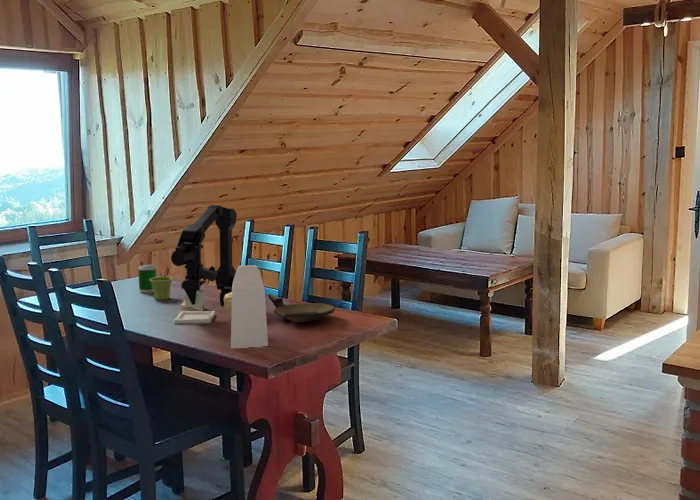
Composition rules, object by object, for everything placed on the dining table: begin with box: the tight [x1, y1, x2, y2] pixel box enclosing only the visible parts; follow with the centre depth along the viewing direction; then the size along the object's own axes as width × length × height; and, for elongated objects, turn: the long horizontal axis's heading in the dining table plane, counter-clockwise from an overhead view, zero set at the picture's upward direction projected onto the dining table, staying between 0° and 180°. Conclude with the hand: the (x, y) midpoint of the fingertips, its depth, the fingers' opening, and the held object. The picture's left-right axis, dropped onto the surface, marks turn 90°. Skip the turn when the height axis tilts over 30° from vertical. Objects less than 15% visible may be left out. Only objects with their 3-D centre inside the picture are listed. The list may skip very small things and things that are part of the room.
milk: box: [230, 264, 269, 350], centre depth 228 cm, size 12×12×26 cm
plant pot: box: [150, 276, 173, 301], centre depth 294 cm, size 9×9×9 cm
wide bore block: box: [180, 299, 206, 312], centre depth 273 cm, size 8×8×4 cm
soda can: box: [138, 263, 157, 294], centre depth 307 cm, size 8×8×12 cm
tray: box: [173, 310, 216, 325], centre depth 260 cm, size 13×13×2 cm
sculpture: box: [223, 292, 232, 318], centre depth 263 cm, size 12×12×11 cm
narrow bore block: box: [184, 289, 205, 307], centre depth 259 cm, size 6×6×5 cm
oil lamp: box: [267, 293, 336, 323], centre depth 261 cm, size 22×30×8 cm
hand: (194, 302), depth 260 cm, fingers closed on narrow bore block, 6 cm apart
